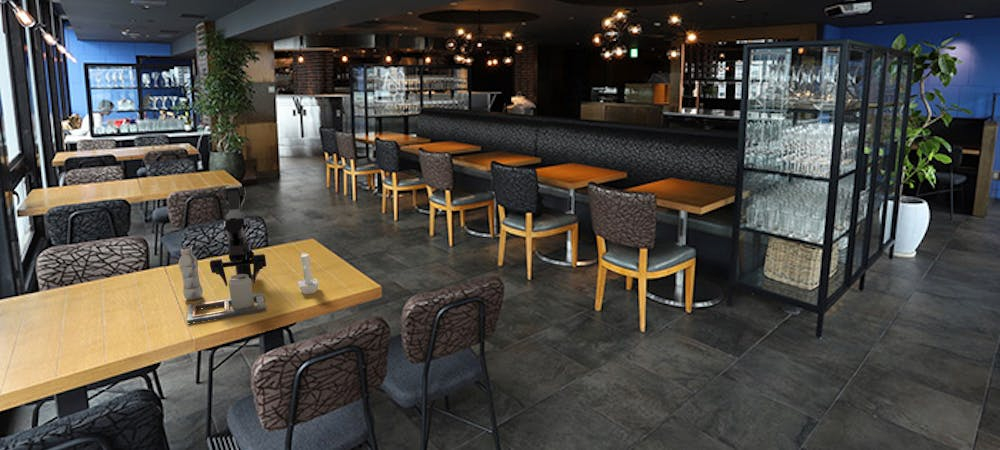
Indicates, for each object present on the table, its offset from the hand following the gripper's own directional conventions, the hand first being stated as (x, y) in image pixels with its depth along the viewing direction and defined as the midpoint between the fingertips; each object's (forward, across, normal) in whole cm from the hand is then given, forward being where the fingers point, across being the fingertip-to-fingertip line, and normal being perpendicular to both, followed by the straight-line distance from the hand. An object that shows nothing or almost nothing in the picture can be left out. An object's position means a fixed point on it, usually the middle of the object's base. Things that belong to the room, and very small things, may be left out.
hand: (240, 284), depth 217 cm
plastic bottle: (-5, -18, +17) cm, 25 cm away
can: (+7, 0, +6) cm, 9 cm away
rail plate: (+7, -5, +5) cm, 10 cm away
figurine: (+2, +23, +10) cm, 26 cm away
